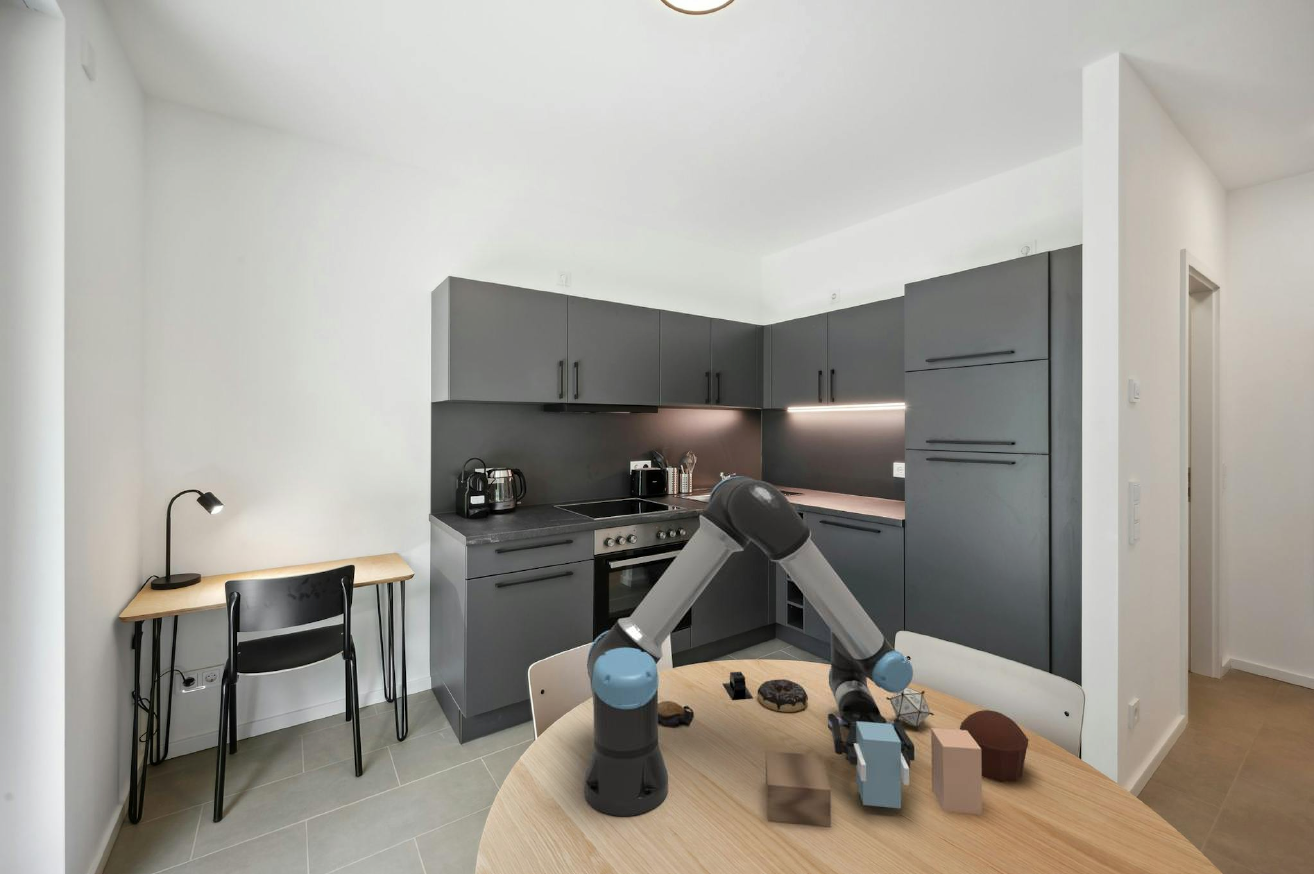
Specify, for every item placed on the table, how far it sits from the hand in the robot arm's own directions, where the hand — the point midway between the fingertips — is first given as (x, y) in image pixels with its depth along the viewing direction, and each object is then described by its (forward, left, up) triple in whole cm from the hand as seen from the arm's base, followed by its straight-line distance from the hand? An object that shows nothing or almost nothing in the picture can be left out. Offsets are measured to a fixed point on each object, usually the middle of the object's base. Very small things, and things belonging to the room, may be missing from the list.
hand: (885, 774), depth 92 cm
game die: (+13, +34, -8) cm, 38 cm away
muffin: (+24, +19, -8) cm, 32 cm away
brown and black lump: (-40, +30, -9) cm, 51 cm away
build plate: (-25, +45, -9) cm, 52 cm away
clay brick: (+14, +8, -8) cm, 18 cm away
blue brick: (0, +5, -7) cm, 8 cm away
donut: (-14, +41, -9) cm, 44 cm away
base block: (-14, +3, -8) cm, 16 cm away
